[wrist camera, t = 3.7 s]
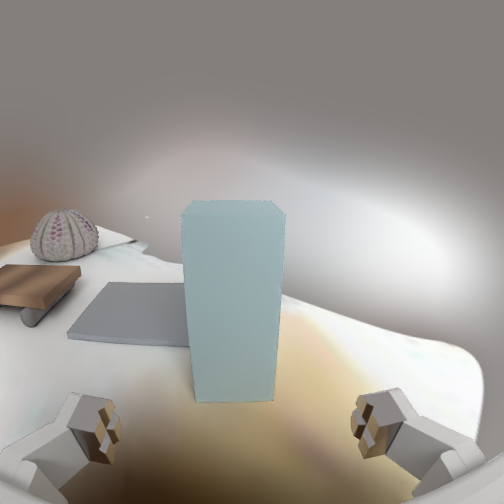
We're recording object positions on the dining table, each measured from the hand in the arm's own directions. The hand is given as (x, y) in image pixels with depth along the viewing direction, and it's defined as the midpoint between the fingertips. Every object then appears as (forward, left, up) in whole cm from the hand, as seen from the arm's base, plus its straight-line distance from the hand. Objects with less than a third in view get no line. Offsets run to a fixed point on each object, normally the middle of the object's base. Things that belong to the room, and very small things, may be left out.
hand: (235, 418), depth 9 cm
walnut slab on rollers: (-24, +20, -7) cm, 32 cm away
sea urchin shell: (-29, +40, -7) cm, 50 cm away
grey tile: (-9, +20, -7) cm, 23 cm away
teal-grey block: (0, +10, -7) cm, 12 cm away
